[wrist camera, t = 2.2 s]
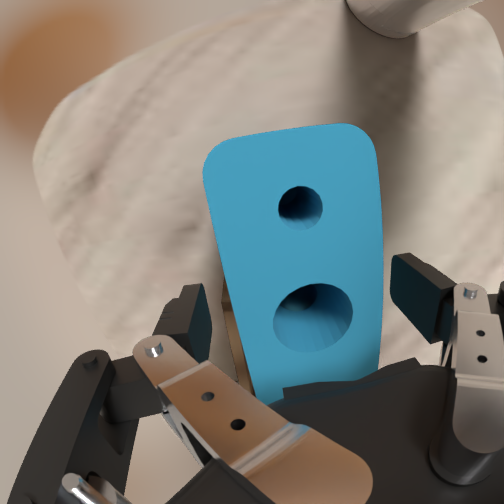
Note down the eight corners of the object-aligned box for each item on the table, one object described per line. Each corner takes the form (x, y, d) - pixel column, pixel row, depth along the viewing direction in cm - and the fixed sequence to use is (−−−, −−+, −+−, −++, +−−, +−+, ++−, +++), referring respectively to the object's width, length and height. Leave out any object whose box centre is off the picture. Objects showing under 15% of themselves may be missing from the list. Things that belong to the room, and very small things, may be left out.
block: (299, 257, 30) (372, 409, 11) (251, 266, 30) (266, 433, 12) (280, 139, 26) (371, 120, 7) (227, 149, 26) (195, 146, 7)
